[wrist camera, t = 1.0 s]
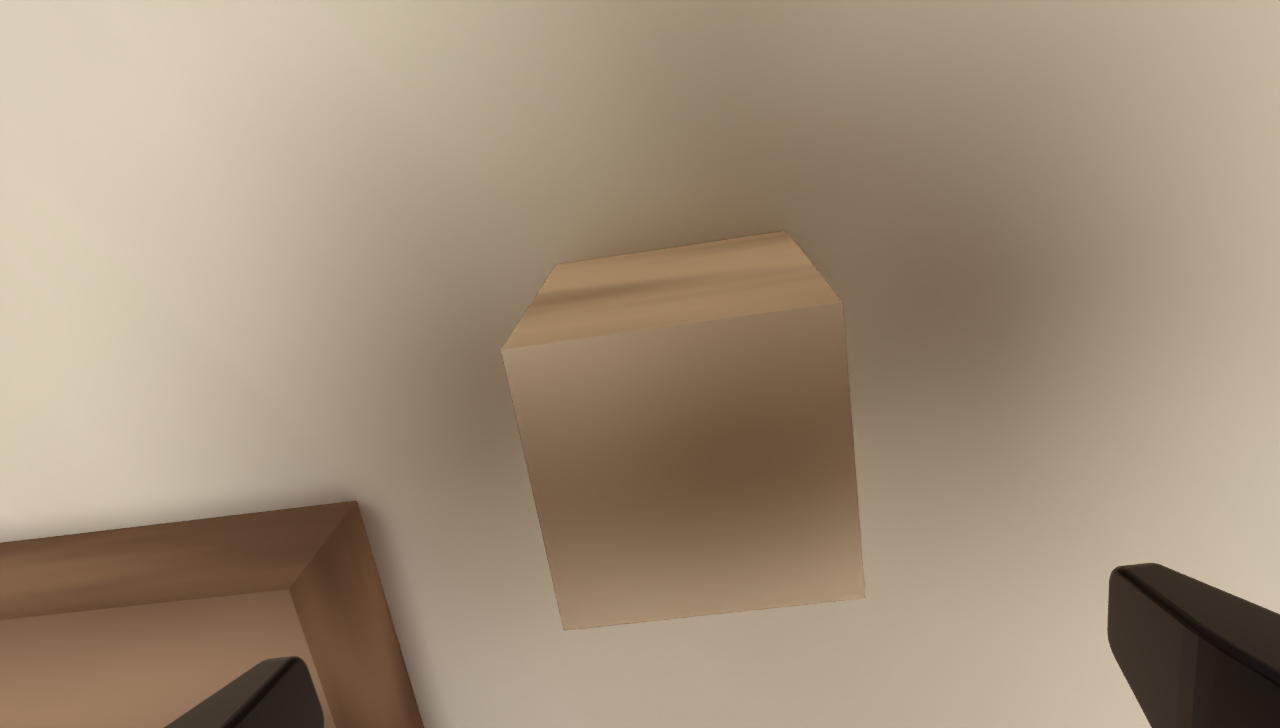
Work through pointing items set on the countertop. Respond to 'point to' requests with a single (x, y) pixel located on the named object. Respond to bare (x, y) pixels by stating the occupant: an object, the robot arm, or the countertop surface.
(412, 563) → the countertop surface
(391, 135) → the countertop surface
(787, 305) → the maple block
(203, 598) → the walnut block
